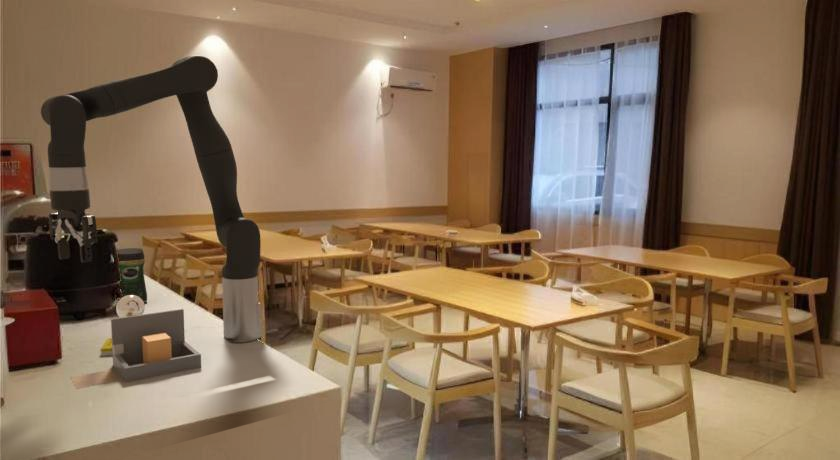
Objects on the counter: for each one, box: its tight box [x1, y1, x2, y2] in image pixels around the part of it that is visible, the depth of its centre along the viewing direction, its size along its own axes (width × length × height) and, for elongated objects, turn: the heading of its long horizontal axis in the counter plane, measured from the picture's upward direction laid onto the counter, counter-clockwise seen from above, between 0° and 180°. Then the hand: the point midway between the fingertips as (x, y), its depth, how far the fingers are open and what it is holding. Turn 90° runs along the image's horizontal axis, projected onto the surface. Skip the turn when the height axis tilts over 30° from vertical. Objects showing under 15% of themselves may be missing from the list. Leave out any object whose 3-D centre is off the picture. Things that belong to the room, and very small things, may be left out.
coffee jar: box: [115, 247, 148, 304], centre depth 199 cm, size 10×8×19 cm
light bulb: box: [115, 295, 146, 318], centre depth 161 cm, size 7×7×12 cm
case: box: [110, 308, 202, 383], centre depth 138 cm, size 16×13×12 cm
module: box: [142, 333, 172, 364], centre depth 137 cm, size 5×5×7 cm
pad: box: [70, 369, 119, 390], centre depth 130 cm, size 8×8×1 cm
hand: (75, 260), depth 133 cm, fingers open, 8 cm apart
